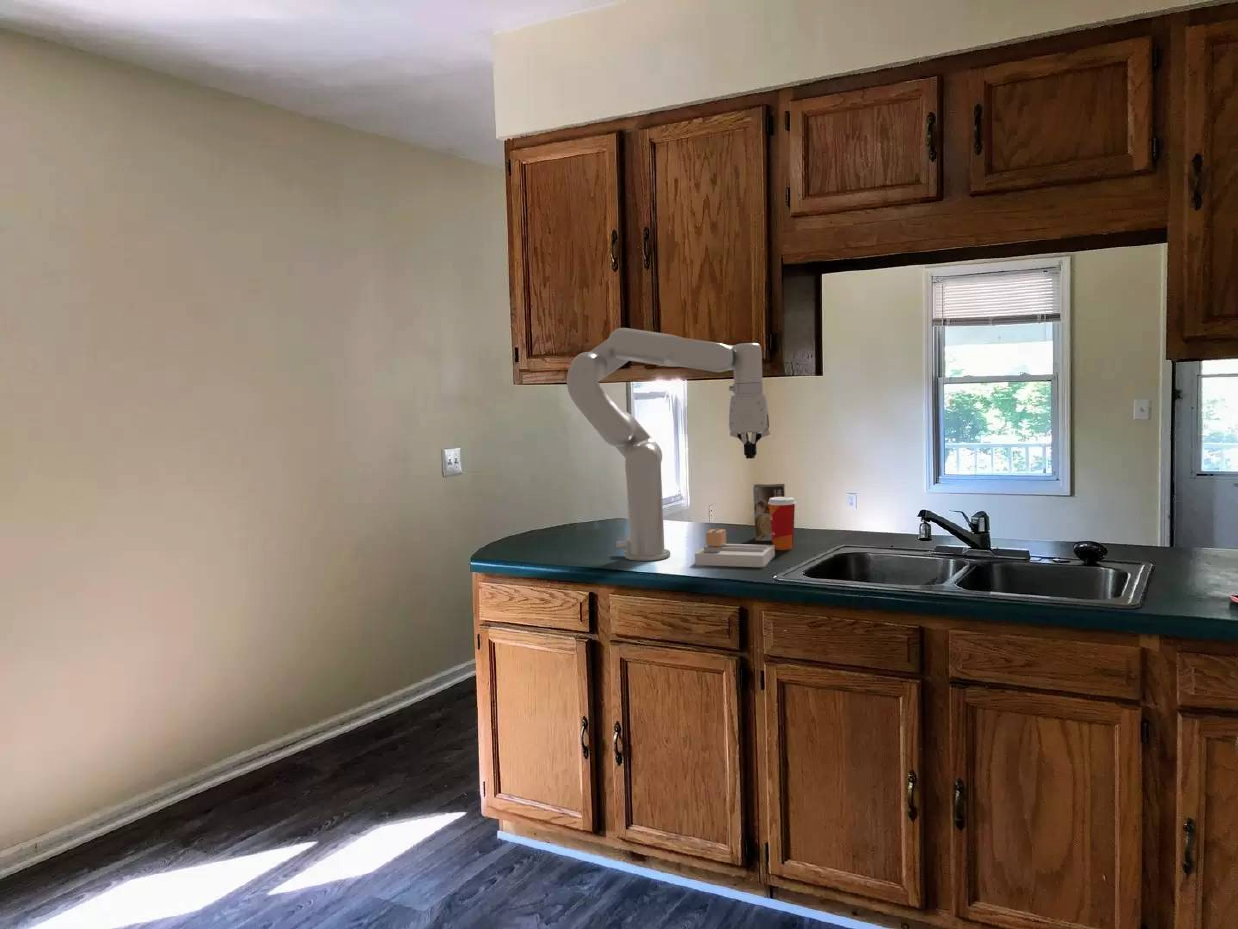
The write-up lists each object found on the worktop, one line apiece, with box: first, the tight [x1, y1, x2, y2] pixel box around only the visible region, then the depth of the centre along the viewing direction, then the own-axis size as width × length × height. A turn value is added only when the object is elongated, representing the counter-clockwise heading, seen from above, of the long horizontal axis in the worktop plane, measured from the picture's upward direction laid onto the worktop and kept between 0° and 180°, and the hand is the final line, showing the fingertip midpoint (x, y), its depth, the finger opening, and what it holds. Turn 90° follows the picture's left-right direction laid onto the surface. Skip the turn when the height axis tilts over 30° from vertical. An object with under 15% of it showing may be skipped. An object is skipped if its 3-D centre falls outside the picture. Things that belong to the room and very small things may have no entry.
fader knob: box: [705, 527, 727, 547], centre depth 246 cm, size 4×5×5 cm
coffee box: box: [752, 483, 786, 542], centre depth 272 cm, size 9×6×16 cm
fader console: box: [694, 543, 776, 568], centre depth 244 cm, size 18×14×4 cm
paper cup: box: [768, 496, 797, 551], centre depth 257 cm, size 8×8×14 cm
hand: (750, 458), depth 249 cm, fingers closed
